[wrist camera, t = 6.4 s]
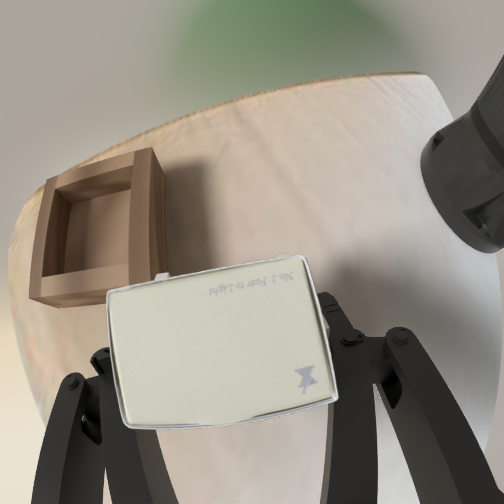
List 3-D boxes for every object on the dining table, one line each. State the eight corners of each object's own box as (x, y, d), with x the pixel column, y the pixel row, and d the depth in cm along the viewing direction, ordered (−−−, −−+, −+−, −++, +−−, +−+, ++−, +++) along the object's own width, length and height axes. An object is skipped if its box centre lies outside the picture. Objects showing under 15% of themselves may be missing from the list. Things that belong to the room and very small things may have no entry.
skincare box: (278, 308, 19) (313, 244, 8) (290, 369, 17) (349, 400, 6) (190, 324, 19) (101, 282, 7) (200, 384, 17) (121, 431, 6)
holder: (164, 175, 23) (151, 146, 20) (169, 295, 20) (150, 282, 16) (67, 200, 23) (46, 179, 19) (57, 308, 19) (28, 298, 15)
